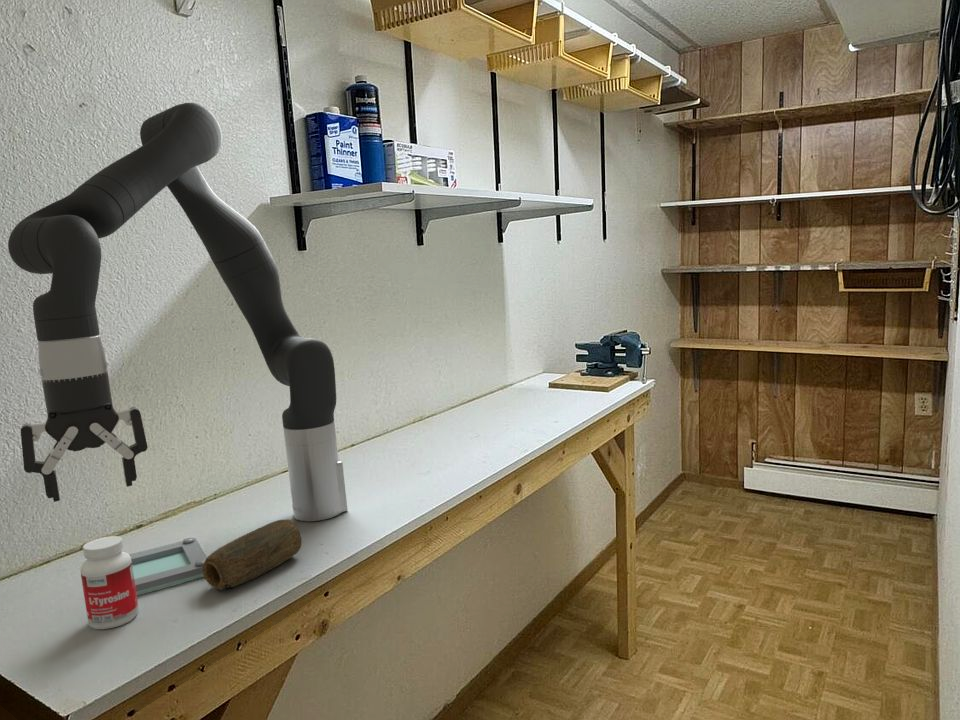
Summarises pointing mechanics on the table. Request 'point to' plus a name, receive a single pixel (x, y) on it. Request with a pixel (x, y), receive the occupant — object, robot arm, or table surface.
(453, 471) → the table surface
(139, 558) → the base plate
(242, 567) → the brown textured cylinder
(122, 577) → the pill bottle
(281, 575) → the table surface
